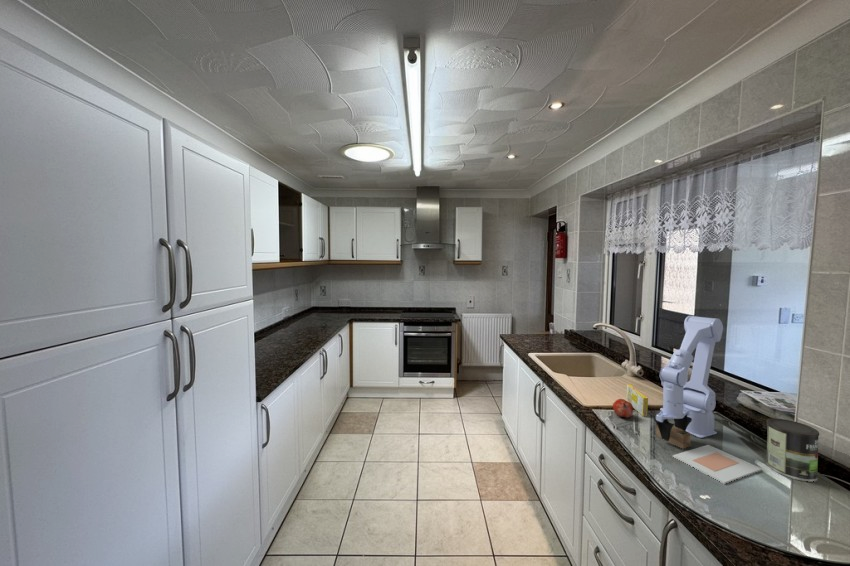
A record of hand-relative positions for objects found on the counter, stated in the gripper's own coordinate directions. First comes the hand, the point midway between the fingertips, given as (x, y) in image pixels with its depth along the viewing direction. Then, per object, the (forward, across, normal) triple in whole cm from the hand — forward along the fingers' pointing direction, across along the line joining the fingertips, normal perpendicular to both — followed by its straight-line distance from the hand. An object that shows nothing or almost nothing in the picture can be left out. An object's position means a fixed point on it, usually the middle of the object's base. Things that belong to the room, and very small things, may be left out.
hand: (672, 437), depth 112 cm
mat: (+1, +1, +14) cm, 14 cm away
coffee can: (+2, -16, +24) cm, 28 cm away
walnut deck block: (+2, 0, 0) cm, 2 cm away
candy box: (+2, -13, -24) cm, 27 cm away
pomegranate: (+2, -1, -20) cm, 21 cm away
